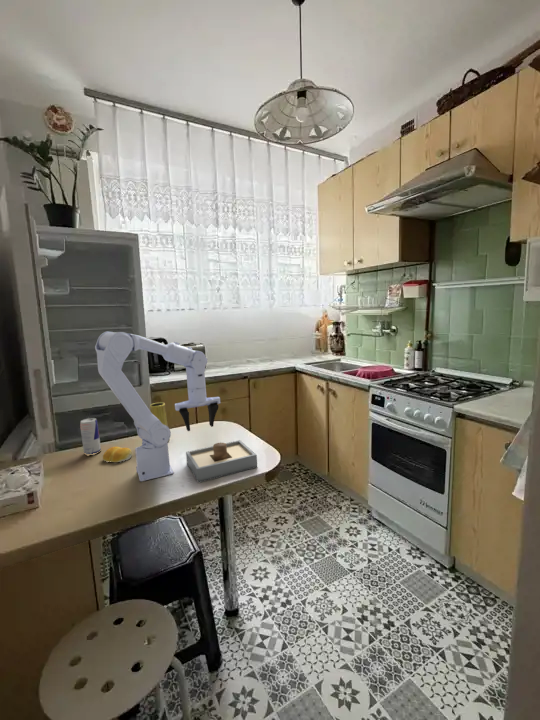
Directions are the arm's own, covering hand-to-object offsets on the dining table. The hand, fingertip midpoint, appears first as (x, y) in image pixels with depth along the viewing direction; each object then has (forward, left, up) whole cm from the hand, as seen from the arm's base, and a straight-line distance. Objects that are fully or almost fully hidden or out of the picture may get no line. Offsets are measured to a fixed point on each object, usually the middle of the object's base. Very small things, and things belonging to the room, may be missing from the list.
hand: (200, 428), depth 117 cm
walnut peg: (+3, -11, -9) cm, 14 cm away
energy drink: (-33, +23, -10) cm, 41 cm away
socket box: (+3, -11, -9) cm, 15 cm away
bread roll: (-25, +13, -10) cm, 30 cm away
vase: (-10, +21, -10) cm, 25 cm away
